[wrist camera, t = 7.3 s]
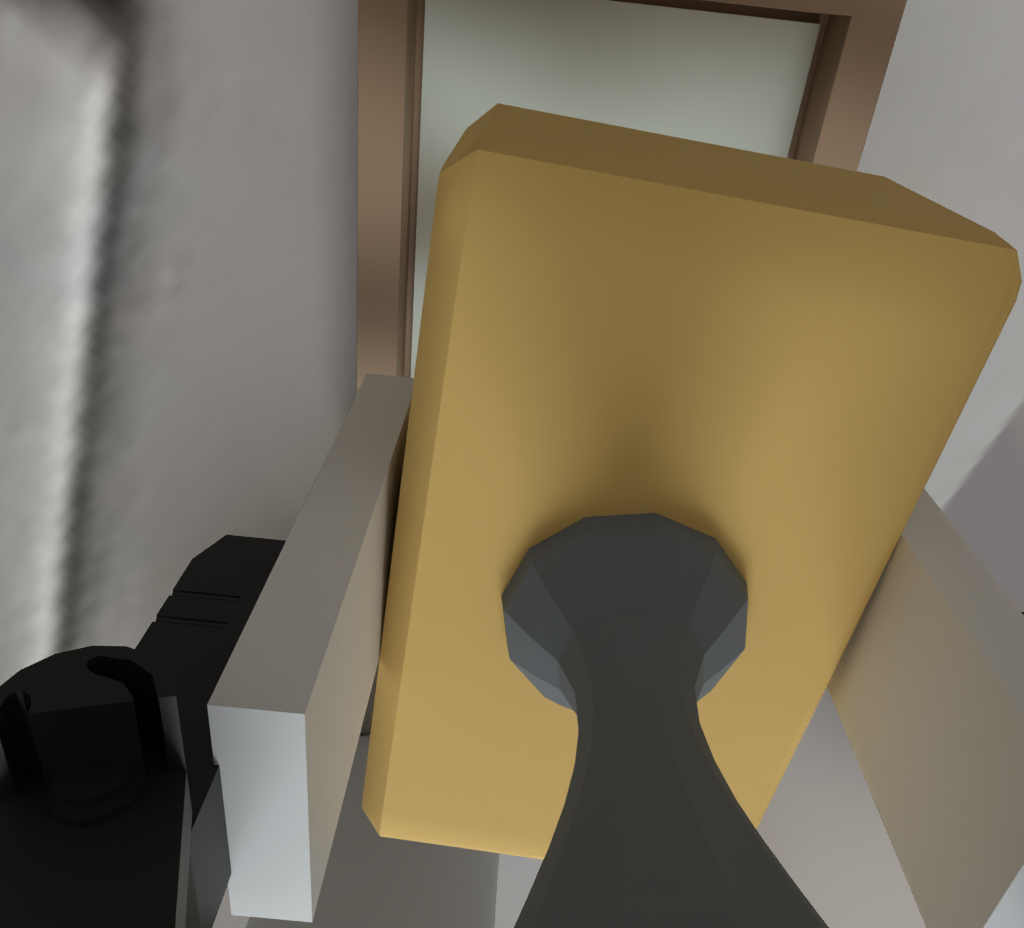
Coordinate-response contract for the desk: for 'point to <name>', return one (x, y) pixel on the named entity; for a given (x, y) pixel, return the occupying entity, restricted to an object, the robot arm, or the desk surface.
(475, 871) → the mug
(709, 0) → the tray
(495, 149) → the rubber stamp
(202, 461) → the desk surface
